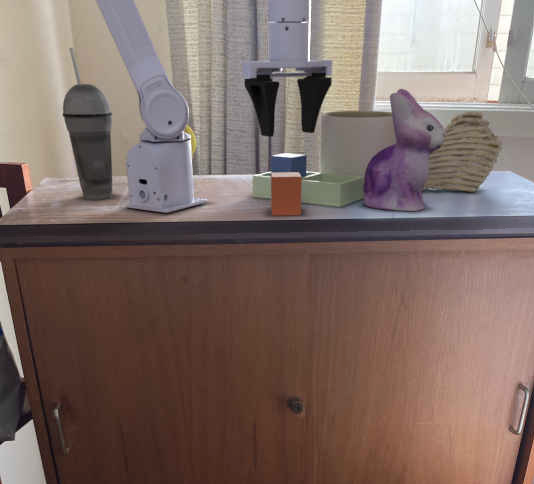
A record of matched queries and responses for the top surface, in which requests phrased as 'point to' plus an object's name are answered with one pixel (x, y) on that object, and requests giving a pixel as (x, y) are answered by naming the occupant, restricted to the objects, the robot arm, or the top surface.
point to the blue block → (289, 163)
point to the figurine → (403, 158)
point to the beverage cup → (90, 137)
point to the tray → (318, 188)
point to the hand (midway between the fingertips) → (288, 134)
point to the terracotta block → (286, 193)
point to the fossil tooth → (464, 154)
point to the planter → (353, 140)
